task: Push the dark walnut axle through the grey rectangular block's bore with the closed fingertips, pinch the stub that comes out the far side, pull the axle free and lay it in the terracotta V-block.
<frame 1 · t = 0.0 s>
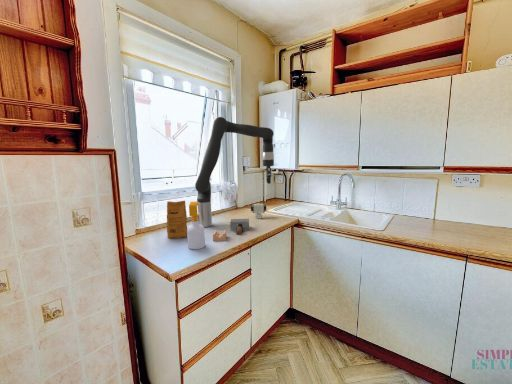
hand: (268, 182, 160), 29 cm above the worktop, tool pointing down, fingers open, 8 cm apart
coffee package: (178, 236, 144), on the worktop
soap bottle: (196, 246, 126), on the worktop
pneumatic valve: (258, 218, 180), on the worktop
grey rectangular block: (240, 229, 154), on the worktop
v block: (219, 238, 137), on the worktop
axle: (239, 230, 151), on the worktop
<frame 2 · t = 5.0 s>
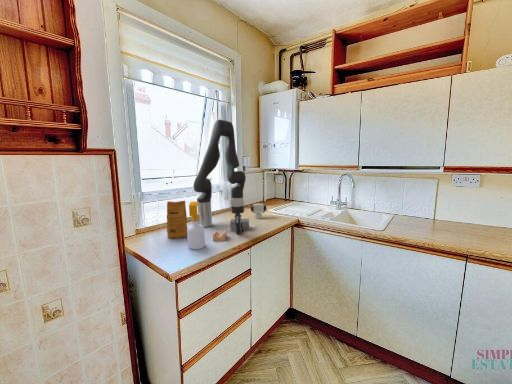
hand: (238, 232, 142), 2 cm above the worktop, tool pointing down, fingers closed
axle: (240, 230, 151), on the worktop, tilted 10°, touching gripper
everything else where it was.
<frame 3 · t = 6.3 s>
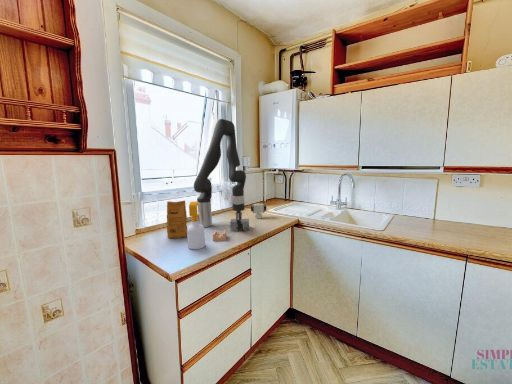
hand: (239, 229, 148), 2 cm above the worktop, tool pointing down, fingers closed
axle: (240, 227, 157), on the worktop, tilted 9°, touching gripper
everything else where it was.
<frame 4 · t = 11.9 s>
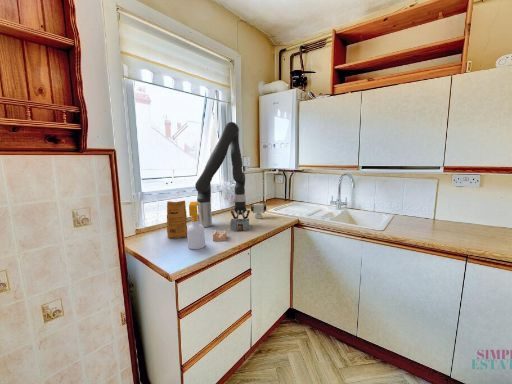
hand: (240, 224, 164), 0 cm above the worktop, tool pointing down, fingers closed on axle, 3 cm apart
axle: (240, 227, 157), on the worktop, touching gripper
everything else where it was.
when the fingers open (4 cm above the worktop, at t = 20.8 s): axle drops 1 cm, resting on v block.
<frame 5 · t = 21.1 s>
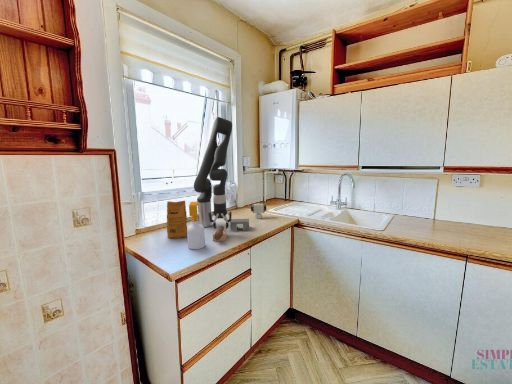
hand: (221, 228, 143), 4 cm above the worktop, tool pointing down, fingers open, 6 cm apart
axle: (219, 234, 137), point 2 cm above the worktop, touching v block
everything else where it was.
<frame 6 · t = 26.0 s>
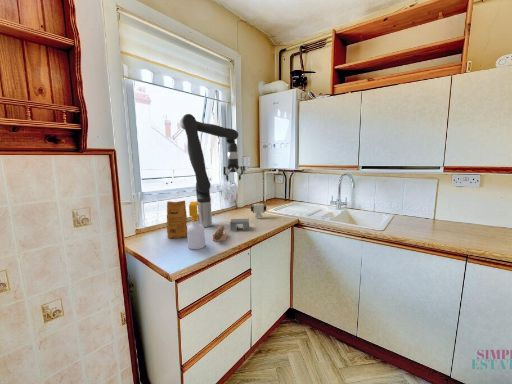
hand: (233, 180, 171), 30 cm above the worktop, tool pointing down, fingers open, 8 cm apart
nothing on the worktop moved.
at the end: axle 0.2 cm off-centre on the v block, point 2.3 cm above the v block's base; the gripper is holding nothing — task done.
